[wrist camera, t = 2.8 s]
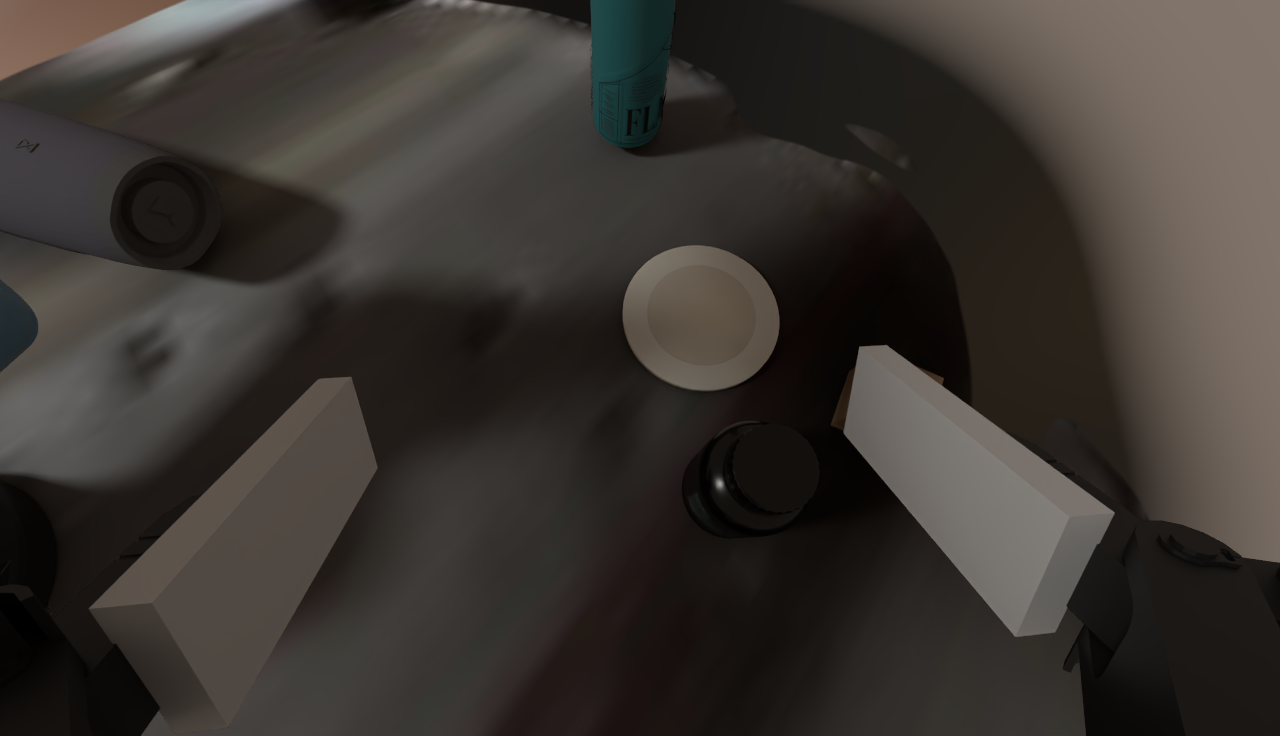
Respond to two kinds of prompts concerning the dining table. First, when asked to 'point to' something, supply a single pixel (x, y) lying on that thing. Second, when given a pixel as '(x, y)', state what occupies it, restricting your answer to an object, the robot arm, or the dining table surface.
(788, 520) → the supplement bottle
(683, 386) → the plate
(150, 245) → the bluetooth speaker
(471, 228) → the dining table surface
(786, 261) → the dining table surface
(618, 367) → the dining table surface
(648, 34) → the beverage bottle
